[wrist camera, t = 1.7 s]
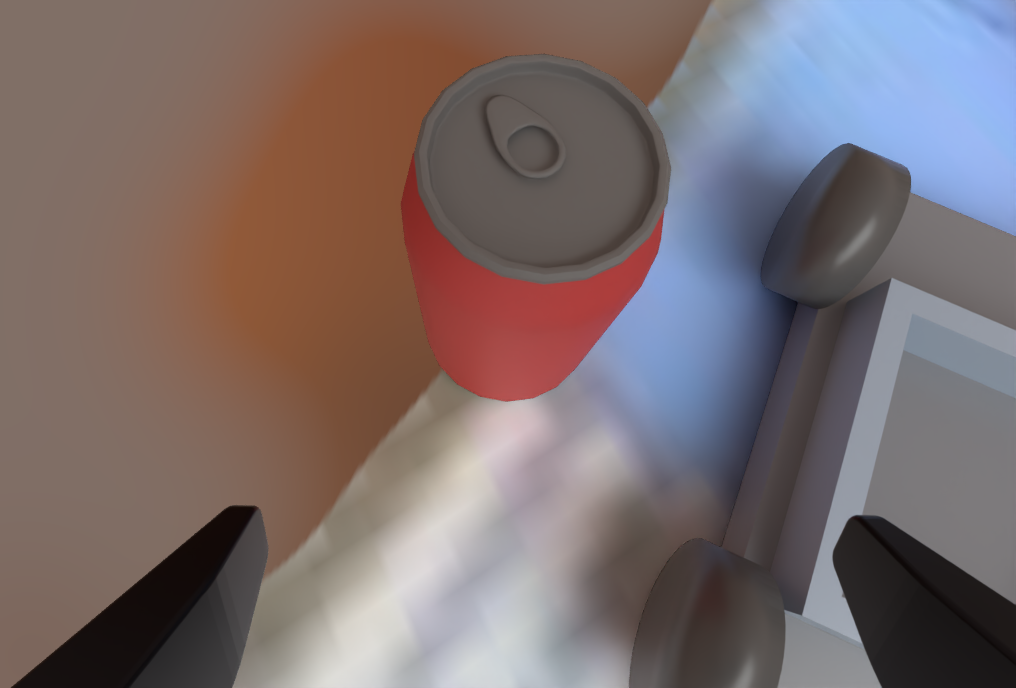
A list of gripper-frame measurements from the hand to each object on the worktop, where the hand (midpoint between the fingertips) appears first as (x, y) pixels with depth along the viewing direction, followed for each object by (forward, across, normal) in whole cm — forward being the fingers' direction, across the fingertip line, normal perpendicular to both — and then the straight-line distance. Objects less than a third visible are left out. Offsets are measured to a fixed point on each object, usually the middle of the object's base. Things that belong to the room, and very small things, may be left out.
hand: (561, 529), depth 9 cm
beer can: (+15, 0, +4) cm, 16 cm away
